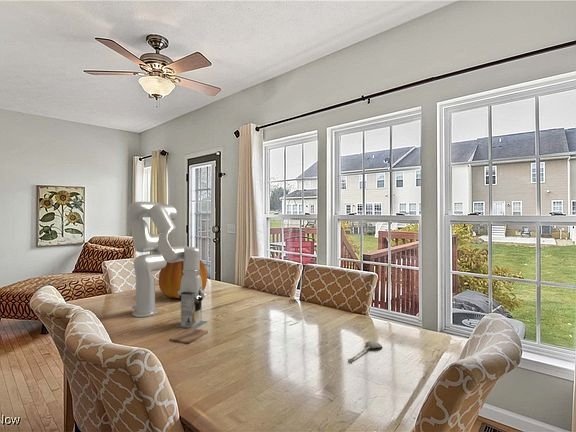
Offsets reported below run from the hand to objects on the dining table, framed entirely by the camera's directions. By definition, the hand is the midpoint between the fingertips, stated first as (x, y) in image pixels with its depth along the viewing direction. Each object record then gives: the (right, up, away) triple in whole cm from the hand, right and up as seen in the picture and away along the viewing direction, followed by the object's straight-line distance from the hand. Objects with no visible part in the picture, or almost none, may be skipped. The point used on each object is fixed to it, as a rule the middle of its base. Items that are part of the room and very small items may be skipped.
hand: (191, 309), depth 152 cm
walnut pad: (+4, -7, -15) cm, 17 cm away
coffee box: (0, -7, 0) cm, 7 cm away
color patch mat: (0, -7, 0) cm, 7 cm away
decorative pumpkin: (-21, -7, +52) cm, 56 cm away
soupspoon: (+77, -9, -30) cm, 83 cm away
